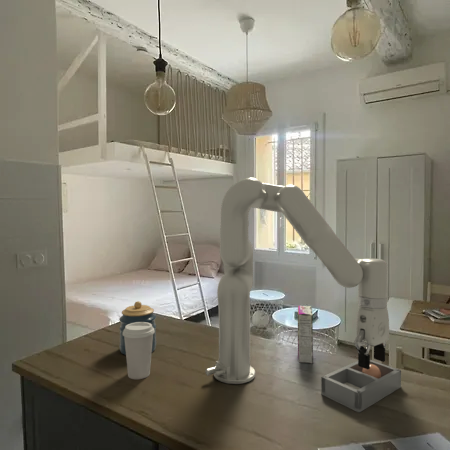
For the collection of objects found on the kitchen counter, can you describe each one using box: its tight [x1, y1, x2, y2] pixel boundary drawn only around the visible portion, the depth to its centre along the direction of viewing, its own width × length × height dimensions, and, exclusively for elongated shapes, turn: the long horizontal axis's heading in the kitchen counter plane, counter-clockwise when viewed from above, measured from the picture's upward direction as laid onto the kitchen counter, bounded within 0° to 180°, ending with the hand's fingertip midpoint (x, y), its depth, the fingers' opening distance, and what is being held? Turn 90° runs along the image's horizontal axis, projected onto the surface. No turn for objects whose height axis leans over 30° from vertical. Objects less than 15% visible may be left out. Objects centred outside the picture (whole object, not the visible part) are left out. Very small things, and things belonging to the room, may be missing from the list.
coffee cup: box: [122, 322, 155, 380], centre depth 107 cm, size 10×10×15 cm
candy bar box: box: [297, 305, 314, 364], centre depth 120 cm, size 11×5×16 cm, turn 168°
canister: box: [118, 300, 157, 356], centre depth 126 cm, size 13×13×18 cm
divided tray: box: [320, 359, 402, 413], centre depth 97 cm, size 21×11×5 cm, turn 127°
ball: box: [362, 364, 381, 379], centre depth 100 cm, size 5×5×5 cm
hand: (371, 363), depth 100 cm, fingers open, 7 cm apart
